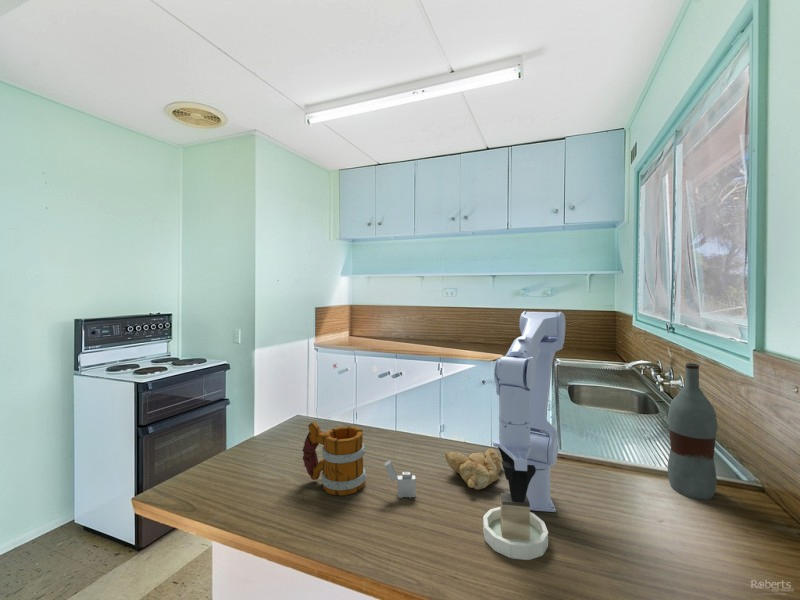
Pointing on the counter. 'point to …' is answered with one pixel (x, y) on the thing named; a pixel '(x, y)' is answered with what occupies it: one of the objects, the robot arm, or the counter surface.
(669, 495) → the counter surface
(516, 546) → the dish
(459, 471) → the ginger root
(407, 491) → the lighter
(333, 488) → the mug
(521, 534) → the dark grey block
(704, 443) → the bottle
